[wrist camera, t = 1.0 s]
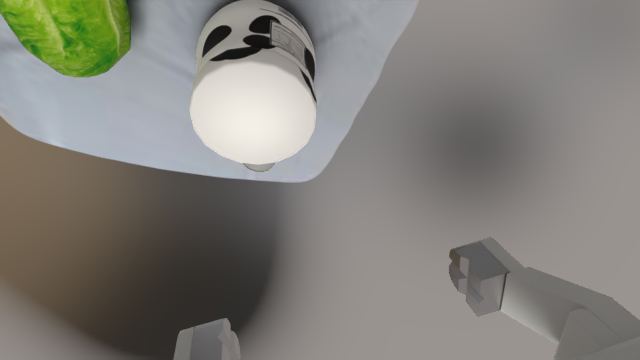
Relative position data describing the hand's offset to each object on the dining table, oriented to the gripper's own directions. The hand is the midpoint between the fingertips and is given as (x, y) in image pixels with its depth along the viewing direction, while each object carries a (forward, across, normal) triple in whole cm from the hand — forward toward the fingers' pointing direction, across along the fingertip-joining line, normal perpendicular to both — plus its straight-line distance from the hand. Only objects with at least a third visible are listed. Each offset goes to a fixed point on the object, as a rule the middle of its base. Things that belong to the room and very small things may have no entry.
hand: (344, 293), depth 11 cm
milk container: (+48, 0, -2) cm, 48 cm away
